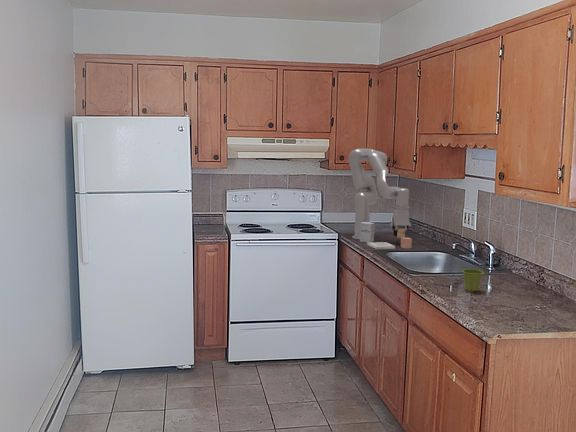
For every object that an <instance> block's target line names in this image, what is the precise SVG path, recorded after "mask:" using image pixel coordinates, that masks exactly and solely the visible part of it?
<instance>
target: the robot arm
mask: <svg viewBox="0 0 576 432" xmlns="http://www.w3.org/2000/svg"><path fill="white" fill-rule="evenodd" d="M362 162H368V163H369V165H370V167H371V169H372V170H373V172H374V174H375V176H376V181H375V178H374V177H372V176H371V175H369V174H366V173H365V169H364V166H363V164H362ZM387 163H388V155H387V154H386V152H383V151H379V150H375V149H374V148H373V149H372V148H355V149H353V150H351V152H350V153H349V155H348V165H349V167H350V172H351V177H352V182H353V186H354V188H355V189H356V190H360V191H358V192H357V193H356V194H355V195H354V206H355V211H354V212H355V214H354V215H355V218H354V219H355V220H354V235H352V236H351V238H352V239H354V240H360V231H361V223H362V222H370V217H371V214H370V213H371V212H370V208H369V206H372V205H375V204H377V203H378V199H379V197H378V191H379V193H380V195H381V197H383V199H387V200H390V199H396V201H395V209H393V212H392V213H393V214H392V217H391V222H390V223H389V224H388V225H389V226H390V227H391V228H392V229H393V236H397V227H399V226H401V227H402V228H405V236H406V235H407V230H408V229H409V228H410V227H412V223H411V221H410V211H409V209H410V208H411V206H410V205H409V196H410V189H409V188H405V187H400V186H389V185H388V182H387V181H386V176H387V175H388V174H389V169H388V167H387V165H386V164H387ZM377 189H378V190H377ZM361 190H363V191H361Z"/></svg>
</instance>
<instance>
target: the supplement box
mask: <svg viewBox="0 0 576 432" xmlns="http://www.w3.org/2000/svg"><path fill="white" fill-rule="evenodd" d="M375 224H376V222H372V221H369V222H362V223H361V231H360V239H359V242H360V243H366V244H367V243H371V242H374V241H375V226H376V225H375Z"/></svg>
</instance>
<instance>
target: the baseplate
mask: <svg viewBox="0 0 576 432" xmlns="http://www.w3.org/2000/svg"><path fill="white" fill-rule="evenodd" d="M366 245H367V246H369V248H370V247H371V248H373V249H374V248H375V250H391V249H396V245H394V244H391V243H389V242H385V241H380V242H379V241H377V242H371V243H366Z"/></svg>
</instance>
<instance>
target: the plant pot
mask: <svg viewBox="0 0 576 432" xmlns="http://www.w3.org/2000/svg"><path fill="white" fill-rule="evenodd" d="M461 272H462V275H463V282H464V290H466V291H467V292H479V290H480V285H481V281H482V277H483V274H484V271H483V270H480V269H474V268H472V269H471V268H467V269H466V268H463V269H461Z"/></svg>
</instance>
